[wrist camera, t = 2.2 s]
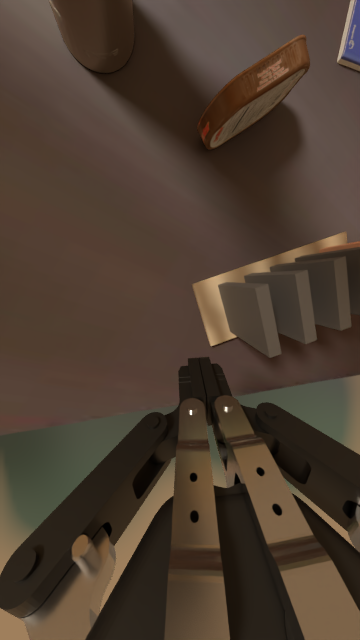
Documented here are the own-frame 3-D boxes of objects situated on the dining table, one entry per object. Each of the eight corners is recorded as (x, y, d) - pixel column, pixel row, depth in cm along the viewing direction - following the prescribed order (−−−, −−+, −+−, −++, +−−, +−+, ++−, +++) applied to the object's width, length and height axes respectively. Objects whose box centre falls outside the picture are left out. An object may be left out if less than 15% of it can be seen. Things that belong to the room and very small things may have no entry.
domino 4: (301, 305, 36) (374, 317, 24) (294, 258, 33) (371, 247, 22) (308, 302, 36) (384, 313, 24) (302, 255, 33) (382, 243, 22)
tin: (273, 88, 28) (323, 10, 20) (281, 111, 29) (332, 45, 21) (190, 142, 28) (206, 86, 20) (200, 164, 29) (220, 118, 20)
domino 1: (230, 331, 34) (270, 358, 23) (217, 285, 32) (255, 288, 21) (237, 328, 35) (281, 353, 23) (226, 282, 32) (268, 283, 21)
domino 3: (278, 313, 35) (340, 330, 24) (269, 267, 33) (333, 260, 21) (285, 310, 35) (351, 326, 24) (277, 264, 33) (345, 256, 21)
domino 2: (254, 322, 35) (305, 344, 23) (243, 275, 33) (295, 274, 21) (262, 319, 35) (317, 339, 23) (252, 273, 33) (307, 269, 21)
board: (209, 344, 35) (211, 346, 35) (191, 284, 32) (192, 284, 32) (347, 294, 38) (351, 294, 37) (341, 232, 34) (346, 231, 34)
